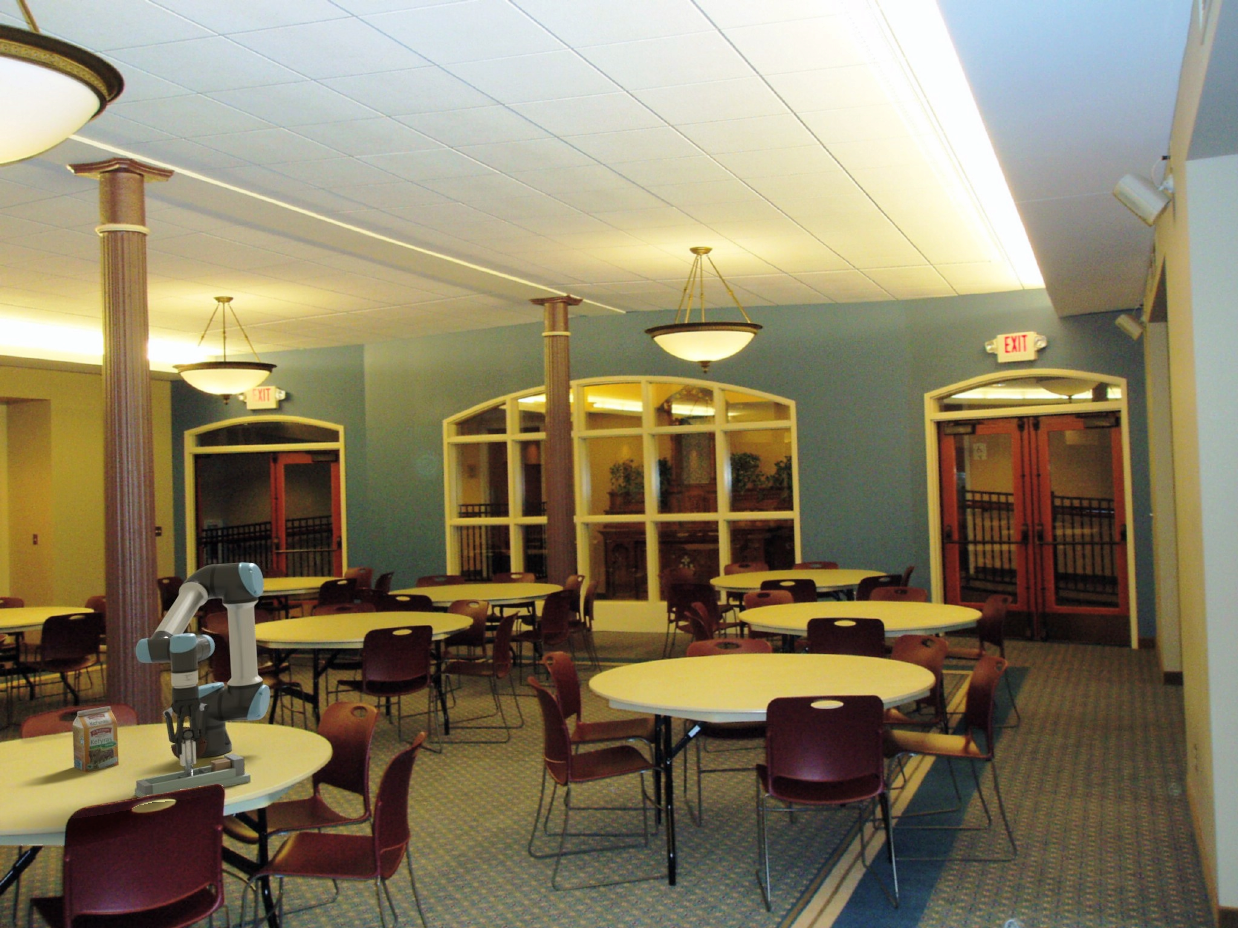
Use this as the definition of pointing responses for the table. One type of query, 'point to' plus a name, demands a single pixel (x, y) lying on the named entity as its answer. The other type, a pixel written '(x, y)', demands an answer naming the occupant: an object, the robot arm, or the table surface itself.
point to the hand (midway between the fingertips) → (188, 763)
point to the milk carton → (95, 739)
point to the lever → (189, 756)
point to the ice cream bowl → (201, 742)
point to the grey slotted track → (194, 779)
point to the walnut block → (220, 765)
